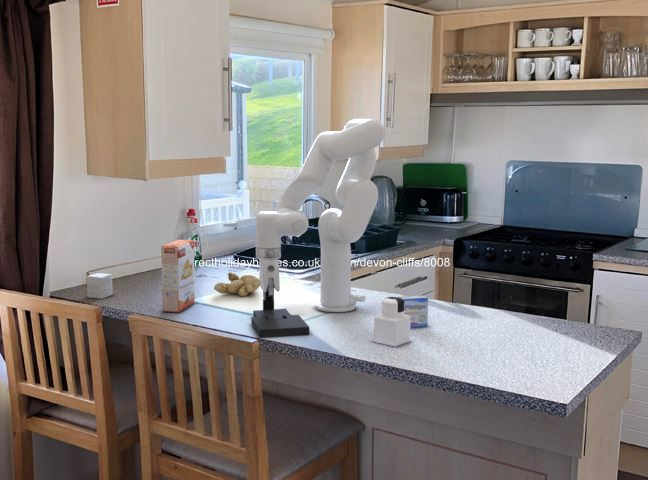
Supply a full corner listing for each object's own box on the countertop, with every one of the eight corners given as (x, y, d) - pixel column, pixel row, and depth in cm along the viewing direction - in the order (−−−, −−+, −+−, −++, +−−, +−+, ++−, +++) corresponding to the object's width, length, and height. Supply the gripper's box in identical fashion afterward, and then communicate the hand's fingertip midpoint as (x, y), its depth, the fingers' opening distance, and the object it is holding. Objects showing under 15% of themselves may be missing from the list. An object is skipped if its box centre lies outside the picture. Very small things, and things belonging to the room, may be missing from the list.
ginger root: (271, 285, 268) (268, 264, 265) (257, 306, 254) (254, 284, 251) (229, 284, 272) (226, 263, 269) (213, 304, 258) (210, 283, 255)
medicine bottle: (388, 336, 209) (389, 294, 207) (410, 341, 205) (411, 297, 203) (373, 342, 204) (374, 298, 202) (395, 347, 200) (396, 302, 197)
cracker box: (180, 313, 234) (178, 246, 231) (161, 312, 236) (159, 245, 232) (196, 302, 248) (194, 239, 244) (179, 301, 249) (177, 238, 245)
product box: (98, 293, 261) (97, 272, 259) (113, 295, 259) (112, 274, 257) (87, 297, 255) (86, 276, 254) (102, 299, 253) (101, 277, 252)
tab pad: (285, 315, 232) (285, 308, 231) (293, 325, 221) (293, 317, 221) (253, 317, 229) (253, 310, 229) (259, 327, 219) (259, 319, 218)
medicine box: (402, 328, 217) (402, 299, 216) (396, 325, 222) (397, 295, 220) (427, 327, 219) (428, 297, 218) (421, 323, 224) (422, 294, 222)
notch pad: (298, 321, 225) (298, 314, 224) (309, 334, 211) (309, 326, 211) (251, 324, 221) (251, 317, 221) (259, 337, 208) (259, 329, 208)
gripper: (285, 256, 222) (285, 317, 225) (276, 248, 236) (276, 306, 240) (259, 257, 220) (259, 319, 224) (252, 249, 235) (252, 307, 238)
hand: (268, 312), depth 232 cm, fingers closed
